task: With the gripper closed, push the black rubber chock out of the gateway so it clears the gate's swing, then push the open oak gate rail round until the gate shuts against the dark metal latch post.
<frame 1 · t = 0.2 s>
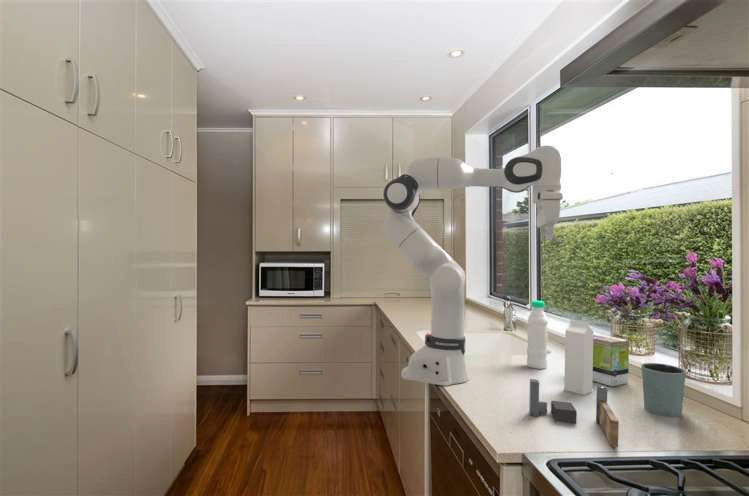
hand: (546, 240, 131), 47 cm above the worktop, fingers open, 8 cm apart
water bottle: (536, 367, 155), on the worktop
chock: (563, 418, 106), on the worktop
tea box: (598, 379, 141), on the worktop
grey green cup: (662, 411, 113), on the worktop
milk: (578, 391, 128), on the worktop
gate: (608, 421, 96), point 3 cm above the worktop, hinge at 85.0°
latch post: (533, 414, 108), on the worktop
hinge post: (601, 422, 104), on the worktop
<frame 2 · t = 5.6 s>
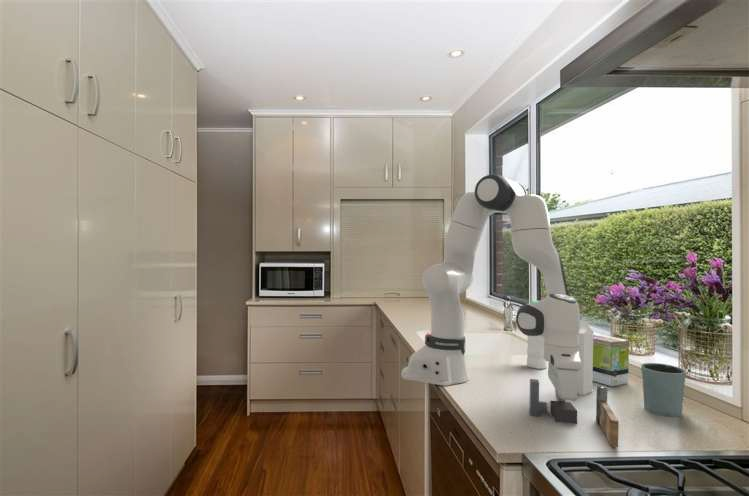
hand: (560, 405, 111), 2 cm above the worktop, fingers closed
chock: (563, 418, 106), on the worktop, touching gripper
everything else where it was.
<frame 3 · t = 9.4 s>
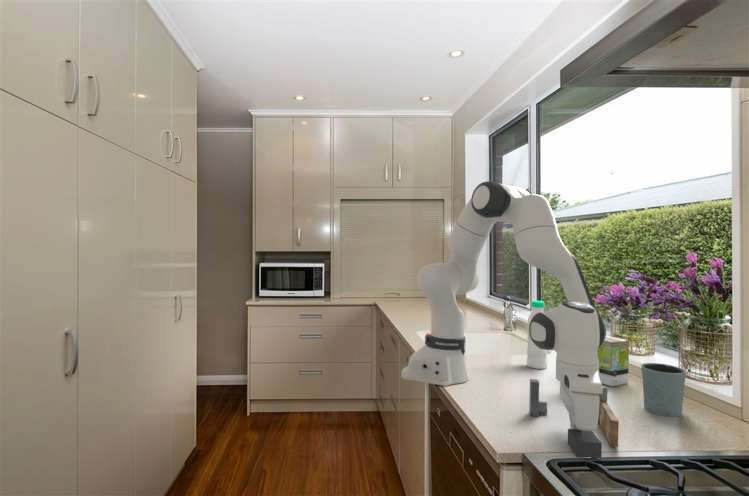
hand: (575, 434, 93), 2 cm above the worktop, fingers closed
chock: (583, 451, 88), on the worktop, touching gripper
everything else where it was.
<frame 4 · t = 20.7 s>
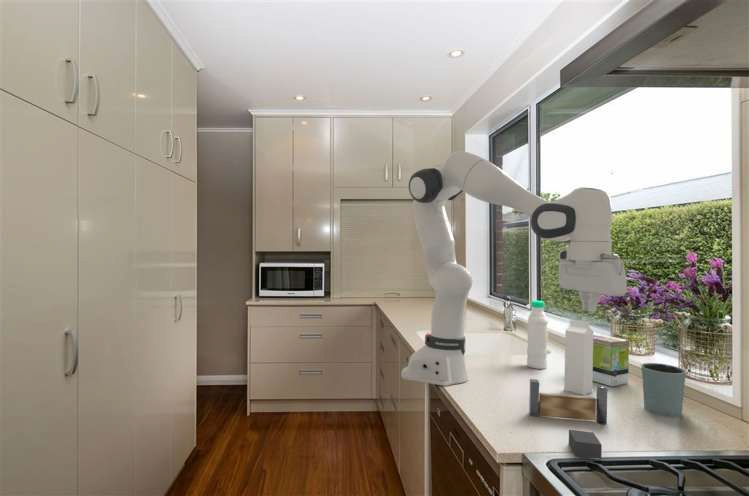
hand: (589, 310, 99), 29 cm above the worktop, fingers closed
chock: (584, 453, 88), on the worktop
gate: (567, 406, 105), point 3 cm above the worktop, hinge at 5.1°
everything else where it was.
at the end: gate at +5° (first picture: +85°); chock inside the target area (0.9 cm from its centre), on the worktop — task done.
